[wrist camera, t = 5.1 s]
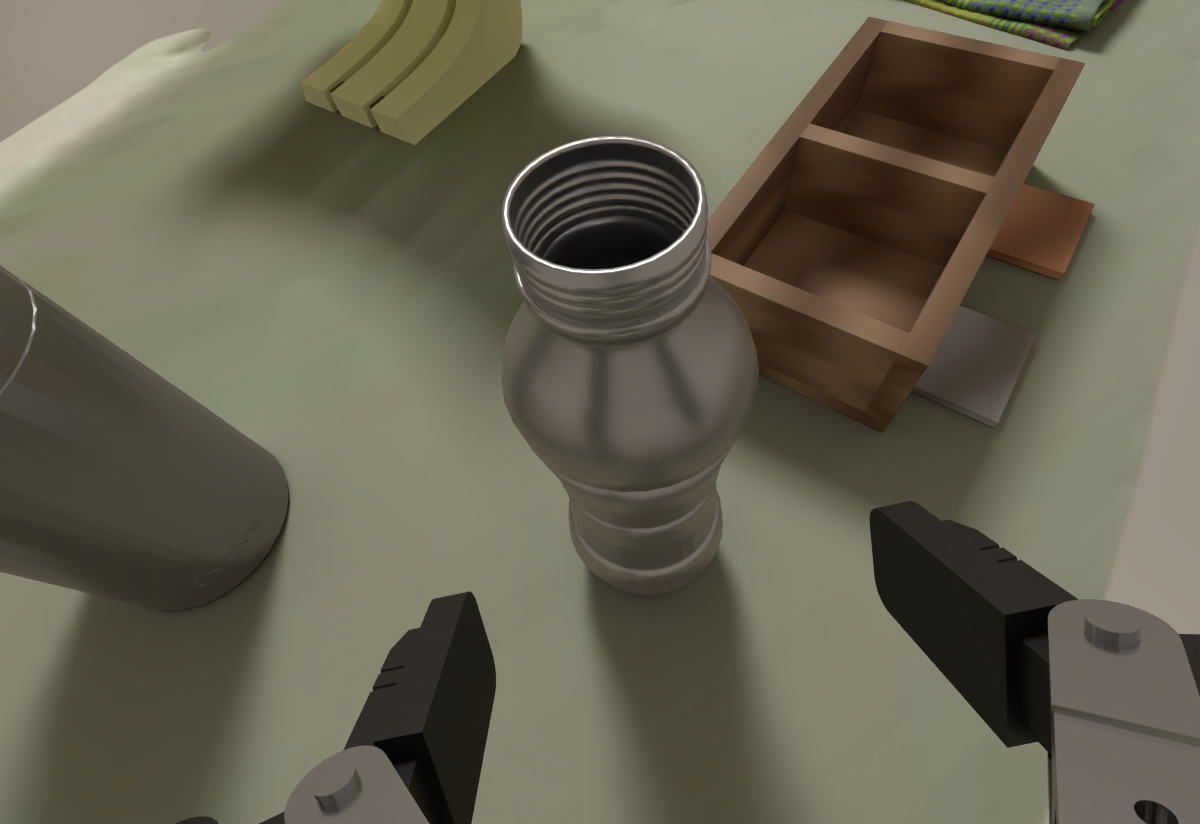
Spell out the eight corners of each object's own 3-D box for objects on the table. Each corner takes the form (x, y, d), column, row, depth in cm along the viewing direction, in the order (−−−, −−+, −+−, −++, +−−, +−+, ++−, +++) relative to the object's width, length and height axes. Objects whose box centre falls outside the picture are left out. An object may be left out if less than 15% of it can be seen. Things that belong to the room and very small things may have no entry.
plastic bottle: (600, 459, 30) (494, 77, 12) (732, 490, 28) (821, 101, 11) (559, 582, 27) (350, 309, 10) (703, 624, 25) (763, 388, 8)
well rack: (675, 335, 33) (675, 260, 28) (844, 108, 41) (868, 16, 36) (972, 475, 27) (1042, 413, 22) (1103, 180, 35) (1178, 83, 30)
